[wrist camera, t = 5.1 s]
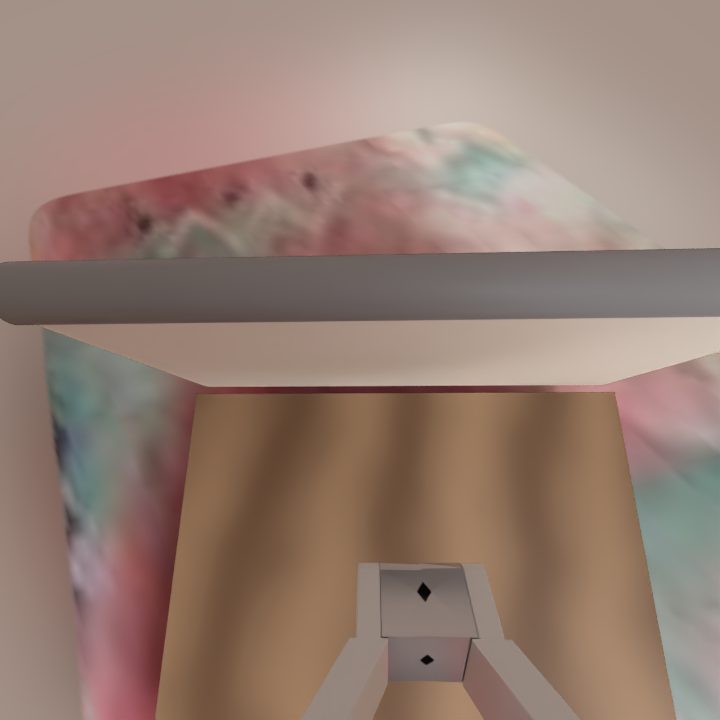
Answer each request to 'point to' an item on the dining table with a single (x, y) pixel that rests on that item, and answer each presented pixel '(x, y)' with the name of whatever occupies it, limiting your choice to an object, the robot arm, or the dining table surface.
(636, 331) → the panel
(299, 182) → the dining table surface
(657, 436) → the dining table surface
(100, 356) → the dining table surface
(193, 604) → the brown flat block
